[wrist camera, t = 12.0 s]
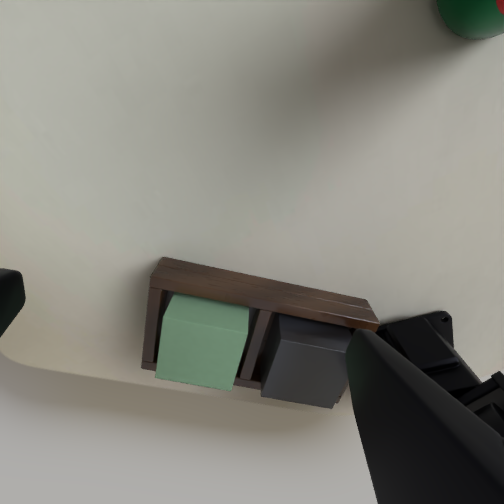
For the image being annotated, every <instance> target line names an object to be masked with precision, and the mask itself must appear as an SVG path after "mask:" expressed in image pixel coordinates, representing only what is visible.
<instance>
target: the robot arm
mask: <svg viewBox="0 0 504 504" xmlns="http://www.w3.org/2000/svg"><path fill="white" fill-rule="evenodd" d="M25 299H26V296H25V290H24V283H23V277H22V274H21V273H20V272H19V271H16V270H10V269H4V268H0V337H1V336H2V335H3V333H4V332H5V330H6V329H7V328H8V326H9V325H10V324H11V322H12V321H13V320H14V318H15V317H16V316H17V314H18V313H19V312H20V310H21V309H22V307H23V306H24V304H25ZM442 318H443V319H442ZM345 360H346V367H347V373H348V380H349V386H350V392H351V399H352V405H353V410H354V415H355V418H356V422H357V426H358V430H359V434H360V438H361V442H362V445H363V449H364V453H365V457H366V461H367V464H368V468H369V471H370V475H371V479H372V483H373V487H374V490H375V494H376V498H377V502H378V504H504V375H503V374H502V373H501V372H500V371H498V372H497V373H495V374H493V375H491V377H492V378H490V379H488V380H487V381H485V382H483V383H482V382H481V381H480V379H479V378H478V377H477V376H476V375H475V373H474V372H473V371H472V370H471V369H470V367H469V366H468V365H467V364H466V363H465V362H464V360H463V359H462V358H461V357H460V356H459V354H458V353H457V352H456V351H455V350H454V344H453V329H452V317H451V316H450V315H449V314H448V313H447V312H446V311H440V312H436V313H431V314H427V315H423V316H419V317H415V318H411V319H407V320H403V321H399V322H395V323H391V324H387V325H383V326H379V327H378V329H377V331H376V332H375V333H374V332H373V331H371V330H366V329H360V328H359V329H356V330H355V331H354V333H353V335H352V338H351V340H350V342H349V344H348V347H347V349H346V352H345Z"/></svg>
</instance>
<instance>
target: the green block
mask: <svg viewBox="0 0 504 504" xmlns="http://www.w3.org/2000/svg"><path fill="white" fill-rule="evenodd" d="M248 318H249V307H247V306H242V305H237V304H232V303H228V302H223V301H218V300H213V299H208V298H203V297H198V296H193V295H188V294H183V293H178V292H174V294H173V296H172V299H171V301H170V303H169V305H168V307H167V310H166V312H165V314H164V316H163V321H162V329H161V336H160V344H159V352H158V359H157V367H156V375H155V378H158V379H164V380H170V381H175V382H181V383H187V384H192V385H198V386H204V387H209V388H215V389H221V390H226V391H231V390H232V386H233V383H234V380H235V376H236V373H237V369H238V366H239V362H240V359H241V356H242V352H243V349H244V345H245V342H246V338H247V335H248Z"/></svg>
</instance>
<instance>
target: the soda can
mask: <svg viewBox="0 0 504 504" xmlns="http://www.w3.org/2000/svg"><path fill="white" fill-rule="evenodd" d="M437 5H438V9H439V12H440V15H441V17H442V19H443V21H444V22H445V24H446V25H447V26H448V27H449V28H450V29H451V30H452V31H453V32H454V33H456V34H457V35H459V36H461V37H464V38H467V39H474V40H476V39H486V38H490V37H494V36H497V35H500V34H503V33H504V0H437Z"/></svg>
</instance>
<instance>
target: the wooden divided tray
mask: <svg viewBox="0 0 504 504" xmlns="http://www.w3.org/2000/svg"><path fill="white" fill-rule="evenodd" d="M174 292H178V293H183V294H188V295H193V296H198V297H203V298H208V299H213V300H218V301H223V302H228V303H232V304H237V305H242V306H247V307H249V318H248V335H247V338H246V342H245V345H244V349H243V352H242V356H241V359H240V362H239V366H238V369H237V373H236V376H235V380H234V383H233V385H237V386H242V387H248V388H254V389H259V390H261V397H267V398H273V399H278V400H284V401H290V402H295V403H301V404H307V405H312V406H318V407H324V408H329V409H332V408H333V406H334V404H335V403H339V401H340V399H341V396H342V395H343V393H344V391H345V389H346V387H347V386H348V384H349V380H348V373H347V367H346V360H345V352H346V349H347V347H348V344H349V342H350V340H351V338H352V335H353V333H354V331H355V330H356V329H359V328H360V329H366V330H371V331H373V332H374V333H375V332H376V331H377V329H378V327H379V325H380V322H379V321H378V319H377V317H376V315H375V314H374V312H373V310H372V308H371V307H370V305H369V303H368V302H367V300H365V299H360V298H356V297H351V296H346V295H341V294H337V293H332V292H327V291H322V290H318V289H313V288H308V287H304V286H299V285H294V284H289V283H285V282H280V281H275V280H271V279H266V278H261V277H256V276H252V275H247V274H242V273H238V272H233V271H228V270H223V269H219V268H214V267H209V266H205V265H200V264H195V263H190V262H186V261H181V260H176V259H172V258H167V257H163V258H162V259H161V261H160V262H159V264H158V266H157V267H156V269H155V270H154V272H153V273H152V275H151V276H150V287H149V295H148V305H147V315H146V325H145V334H144V344H143V354H142V365H141V368H142V369H147V370H153V371H156V367H157V359H158V352H159V344H160V336H161V329H162V321H163V316H164V314H165V312H166V310H167V307H168V305H169V303H170V301H171V299H172V296H173V294H174Z"/></svg>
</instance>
